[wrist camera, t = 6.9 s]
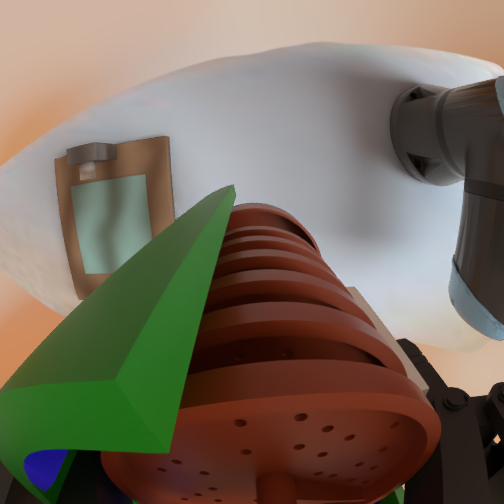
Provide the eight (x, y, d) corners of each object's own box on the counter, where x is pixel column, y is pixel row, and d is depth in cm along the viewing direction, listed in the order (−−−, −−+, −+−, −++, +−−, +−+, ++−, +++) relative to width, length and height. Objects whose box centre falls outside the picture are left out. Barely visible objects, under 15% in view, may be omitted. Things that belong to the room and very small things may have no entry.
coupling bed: (169, 137, 32) (149, 131, 25) (184, 296, 39) (172, 323, 32) (60, 159, 32) (28, 161, 25) (82, 295, 39) (59, 317, 32)
